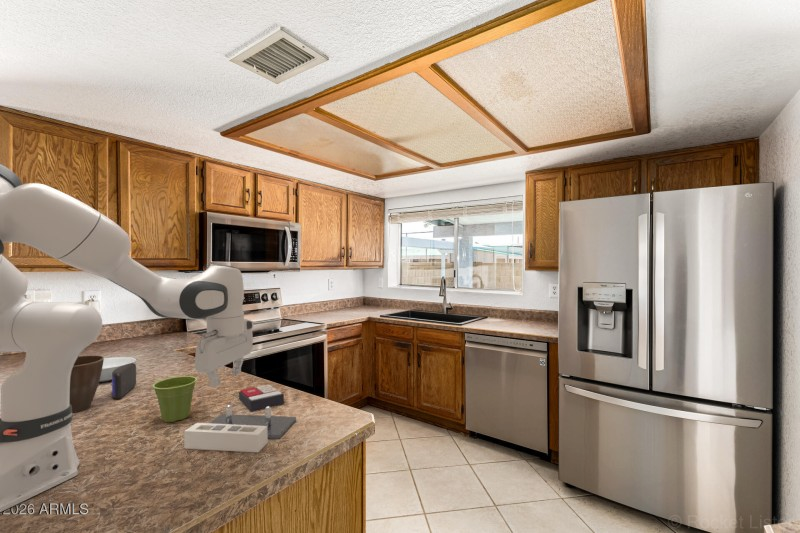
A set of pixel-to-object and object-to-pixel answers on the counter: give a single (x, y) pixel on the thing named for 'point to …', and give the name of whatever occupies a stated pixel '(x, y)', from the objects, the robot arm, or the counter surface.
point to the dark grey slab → (123, 380)
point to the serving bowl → (113, 366)
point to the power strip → (226, 437)
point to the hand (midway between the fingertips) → (226, 379)
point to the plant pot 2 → (175, 397)
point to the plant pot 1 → (84, 381)
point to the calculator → (261, 397)
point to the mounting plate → (258, 421)
